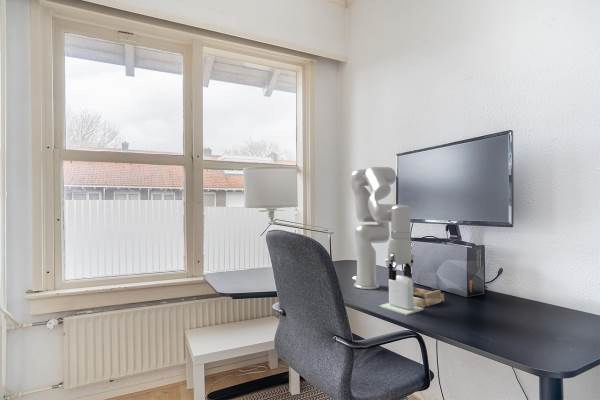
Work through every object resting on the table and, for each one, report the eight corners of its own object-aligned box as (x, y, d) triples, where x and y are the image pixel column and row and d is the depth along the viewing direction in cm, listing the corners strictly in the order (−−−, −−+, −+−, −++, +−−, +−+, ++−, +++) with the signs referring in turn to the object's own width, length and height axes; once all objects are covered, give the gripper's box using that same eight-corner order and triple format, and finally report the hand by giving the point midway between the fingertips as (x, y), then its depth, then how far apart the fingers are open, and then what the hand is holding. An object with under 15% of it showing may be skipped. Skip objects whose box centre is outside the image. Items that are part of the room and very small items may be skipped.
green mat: (379, 306, 137) (379, 305, 137) (396, 302, 143) (396, 300, 143) (406, 315, 126) (406, 313, 126) (423, 309, 133) (423, 308, 133)
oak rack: (392, 298, 148) (392, 287, 148) (413, 293, 157) (413, 282, 157) (423, 307, 136) (423, 295, 136) (444, 301, 145) (444, 289, 145)
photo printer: (387, 304, 137) (387, 274, 138) (393, 302, 140) (393, 273, 140) (408, 310, 129) (408, 278, 130) (415, 308, 132) (415, 277, 132)
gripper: (405, 233, 143) (405, 273, 144) (379, 236, 133) (378, 279, 133) (421, 235, 137) (420, 276, 138) (394, 238, 127) (394, 283, 127)
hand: (400, 277), depth 135 cm, fingers open, 9 cm apart
